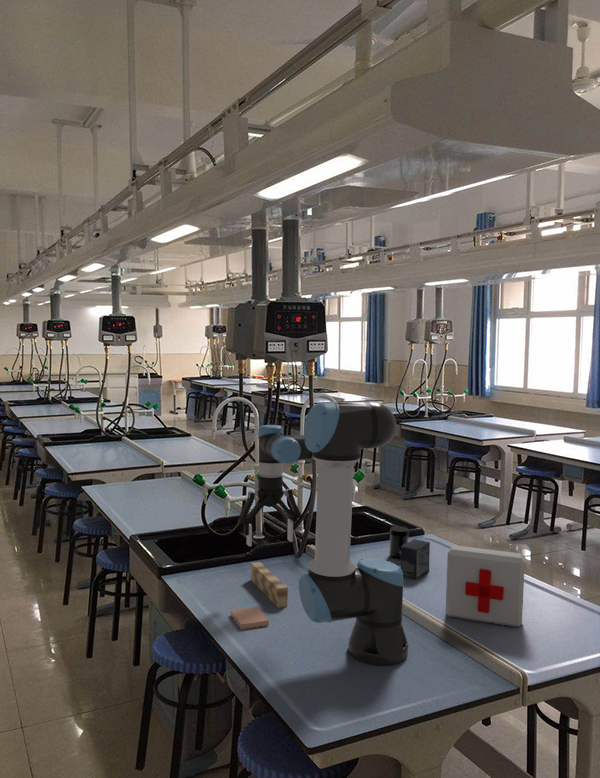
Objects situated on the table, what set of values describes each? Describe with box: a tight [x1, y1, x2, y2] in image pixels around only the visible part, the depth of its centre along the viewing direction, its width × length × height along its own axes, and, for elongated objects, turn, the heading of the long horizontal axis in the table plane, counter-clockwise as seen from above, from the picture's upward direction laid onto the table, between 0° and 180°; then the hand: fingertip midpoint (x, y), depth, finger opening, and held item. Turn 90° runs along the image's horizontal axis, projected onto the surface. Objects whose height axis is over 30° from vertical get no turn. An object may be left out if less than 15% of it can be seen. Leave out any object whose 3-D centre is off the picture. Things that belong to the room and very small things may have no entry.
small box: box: [400, 538, 431, 580], centre depth 225 cm, size 11×6×10 cm, turn 144°
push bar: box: [250, 561, 289, 609], centre depth 206 cm, size 24×3×6 cm, turn 24°
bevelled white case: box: [445, 544, 526, 628], centre depth 189 cm, size 21×8×20 cm, turn 70°
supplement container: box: [389, 525, 410, 560], centre depth 243 cm, size 7×7×10 cm
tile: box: [230, 606, 270, 630], centre depth 186 cm, size 2×8×10 cm
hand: (269, 543), depth 205 cm, fingers open, 13 cm apart
